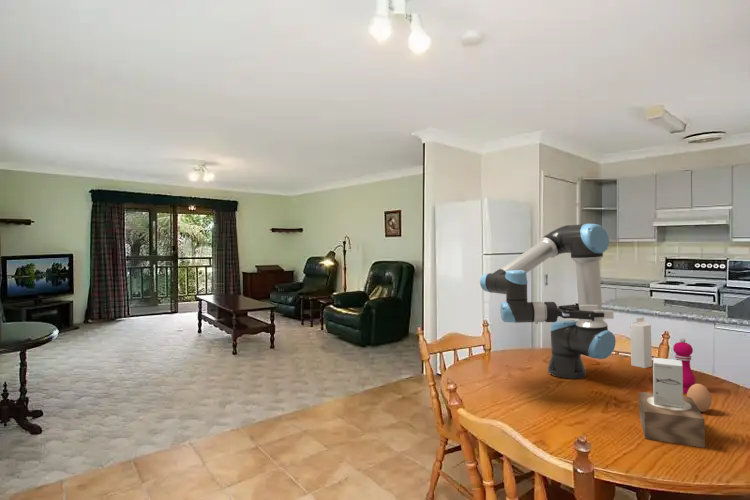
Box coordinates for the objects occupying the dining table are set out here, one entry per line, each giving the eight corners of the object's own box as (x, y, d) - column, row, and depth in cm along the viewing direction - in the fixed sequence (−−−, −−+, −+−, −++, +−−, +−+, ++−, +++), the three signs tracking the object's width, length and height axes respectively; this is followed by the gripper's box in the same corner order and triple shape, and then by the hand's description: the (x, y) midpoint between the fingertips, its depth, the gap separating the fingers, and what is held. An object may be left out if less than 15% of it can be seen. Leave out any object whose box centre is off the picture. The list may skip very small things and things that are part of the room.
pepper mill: (700, 394, 157) (698, 340, 157) (678, 393, 158) (676, 340, 158) (689, 388, 164) (688, 336, 164) (668, 387, 165) (667, 336, 165)
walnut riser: (645, 438, 124) (644, 409, 124) (639, 416, 140) (638, 390, 139) (705, 447, 117) (704, 417, 117) (691, 423, 133) (691, 396, 133)
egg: (687, 406, 147) (687, 379, 147) (712, 410, 142) (711, 383, 142) (686, 412, 142) (685, 384, 141) (711, 416, 137) (711, 388, 137)
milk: (652, 366, 193) (651, 318, 193) (644, 368, 190) (643, 319, 190) (638, 363, 199) (637, 316, 198) (630, 365, 196) (630, 317, 195)
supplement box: (653, 404, 127) (652, 362, 127) (653, 396, 133) (652, 356, 133) (684, 409, 123) (682, 365, 123) (682, 401, 129) (681, 359, 129)
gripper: (536, 316, 170) (592, 316, 167) (554, 328, 145) (620, 328, 143) (535, 297, 170) (591, 297, 167) (553, 306, 145) (619, 306, 143)
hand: (605, 311), depth 155 cm, fingers open, 13 cm apart
